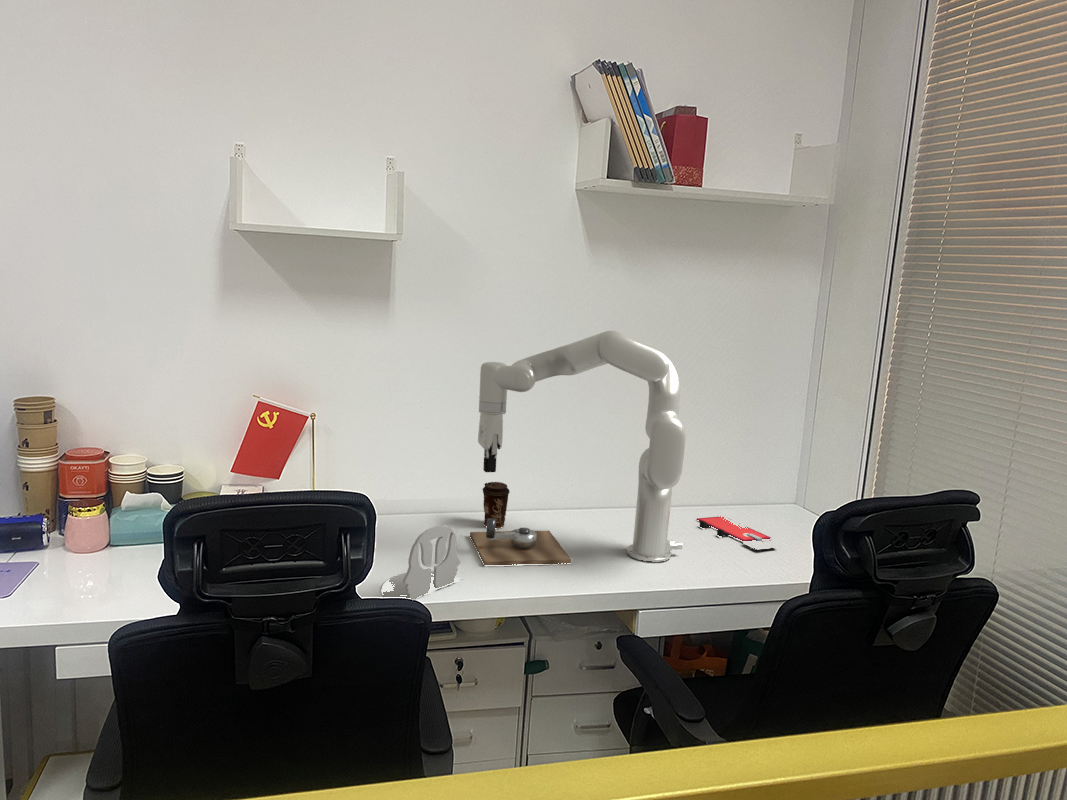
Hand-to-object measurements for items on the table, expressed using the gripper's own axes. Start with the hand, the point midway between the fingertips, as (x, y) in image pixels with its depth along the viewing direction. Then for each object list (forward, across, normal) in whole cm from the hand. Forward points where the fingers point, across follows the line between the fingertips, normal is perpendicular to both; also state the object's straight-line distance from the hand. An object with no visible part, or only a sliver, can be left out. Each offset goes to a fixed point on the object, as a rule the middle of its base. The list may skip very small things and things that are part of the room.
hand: (489, 471), depth 223 cm
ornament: (+22, +25, -24) cm, 41 cm away
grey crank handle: (+19, +6, +6) cm, 21 cm away
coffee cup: (+22, -17, +6) cm, 28 cm away
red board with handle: (+24, -2, +82) cm, 85 cm away
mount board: (+22, +4, +8) cm, 24 cm away
